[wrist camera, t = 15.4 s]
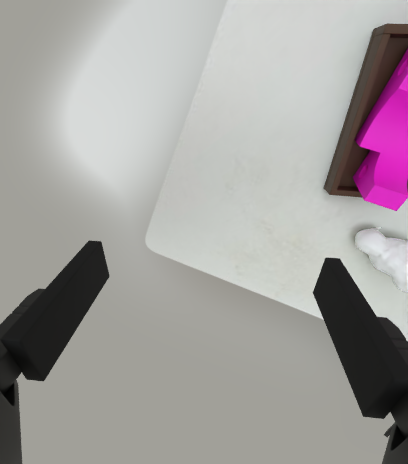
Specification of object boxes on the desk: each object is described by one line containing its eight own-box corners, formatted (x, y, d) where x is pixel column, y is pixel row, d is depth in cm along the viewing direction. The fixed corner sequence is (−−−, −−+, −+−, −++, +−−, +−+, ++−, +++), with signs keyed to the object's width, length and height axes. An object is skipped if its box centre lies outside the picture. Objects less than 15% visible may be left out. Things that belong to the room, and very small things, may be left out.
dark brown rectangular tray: (373, 28, 27) (386, 23, 24) (471, 31, 26) (493, 26, 24) (323, 188, 36) (329, 194, 34) (393, 193, 36) (404, 200, 33)
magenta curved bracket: (410, 42, 26) (445, 34, 20) (473, 58, 25) (528, 54, 19) (335, 172, 35) (343, 193, 29) (379, 186, 34) (396, 210, 28)
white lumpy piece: (420, 310, 35) (355, 268, 34) (391, 274, 42) (337, 238, 41) (465, 283, 32) (395, 236, 31) (425, 249, 39) (368, 210, 38)
